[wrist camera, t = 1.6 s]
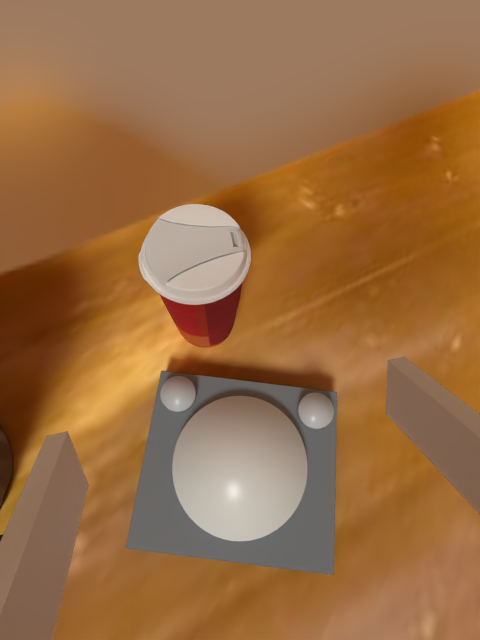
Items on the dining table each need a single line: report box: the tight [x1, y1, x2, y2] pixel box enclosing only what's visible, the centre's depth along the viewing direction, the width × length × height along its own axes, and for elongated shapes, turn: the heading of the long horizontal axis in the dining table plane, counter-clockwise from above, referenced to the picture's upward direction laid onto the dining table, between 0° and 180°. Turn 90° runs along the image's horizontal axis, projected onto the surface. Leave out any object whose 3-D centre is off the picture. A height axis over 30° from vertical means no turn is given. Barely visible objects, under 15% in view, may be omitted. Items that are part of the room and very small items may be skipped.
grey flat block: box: [126, 371, 337, 575], centre depth 31 cm, size 16×14×3 cm
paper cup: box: [139, 204, 251, 347], centre depth 31 cm, size 8×8×14 cm
